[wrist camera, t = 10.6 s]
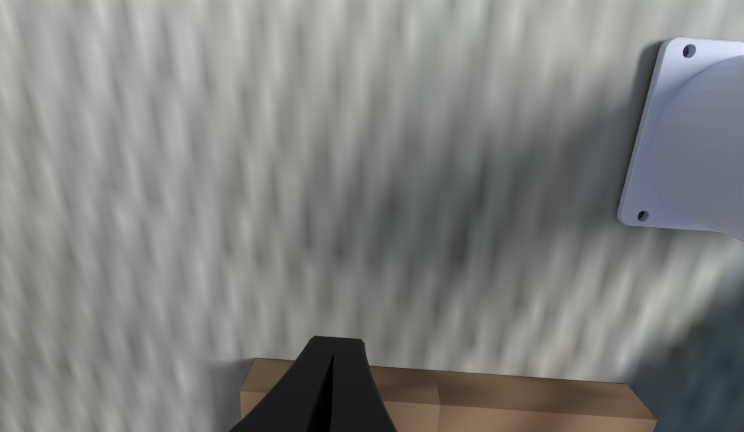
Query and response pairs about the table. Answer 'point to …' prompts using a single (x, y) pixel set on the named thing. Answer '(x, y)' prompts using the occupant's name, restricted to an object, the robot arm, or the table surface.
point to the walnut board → (482, 401)
